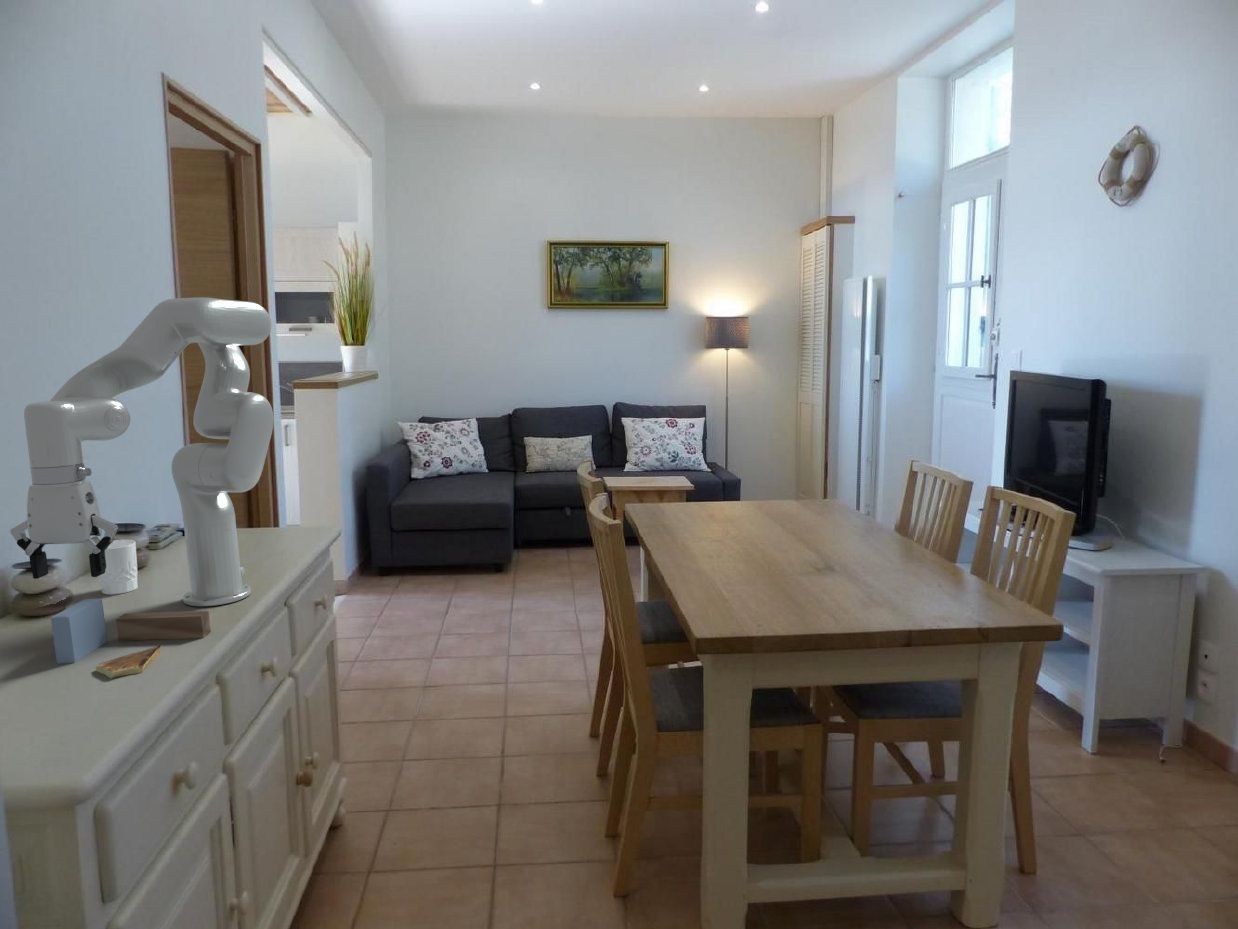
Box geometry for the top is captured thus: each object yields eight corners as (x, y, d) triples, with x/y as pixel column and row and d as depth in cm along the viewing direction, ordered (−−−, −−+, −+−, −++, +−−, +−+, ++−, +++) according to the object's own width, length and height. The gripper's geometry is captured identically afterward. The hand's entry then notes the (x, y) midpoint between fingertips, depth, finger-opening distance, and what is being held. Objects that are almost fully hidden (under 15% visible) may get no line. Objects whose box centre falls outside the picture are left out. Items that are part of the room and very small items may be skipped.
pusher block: (57, 663, 152) (50, 617, 151) (90, 642, 162) (84, 598, 161) (75, 663, 152) (68, 617, 151) (107, 641, 162) (101, 598, 161)
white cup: (103, 598, 188) (96, 551, 186) (95, 590, 194) (89, 544, 192) (145, 590, 193) (139, 544, 191) (136, 582, 199) (130, 537, 197)
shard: (162, 653, 157) (161, 642, 156) (183, 662, 152) (182, 652, 152) (95, 673, 148) (93, 662, 148) (115, 684, 144) (114, 673, 143)
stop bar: (127, 634, 165) (124, 613, 164) (210, 631, 165) (208, 610, 164) (118, 640, 162) (115, 619, 161) (203, 637, 162) (201, 616, 161)
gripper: (122, 471, 156) (132, 568, 158) (20, 473, 155) (32, 571, 158) (98, 478, 148) (109, 580, 151) (-10, 480, 148) (3, 583, 150)
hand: (69, 575), depth 154 cm, fingers open, 9 cm apart
